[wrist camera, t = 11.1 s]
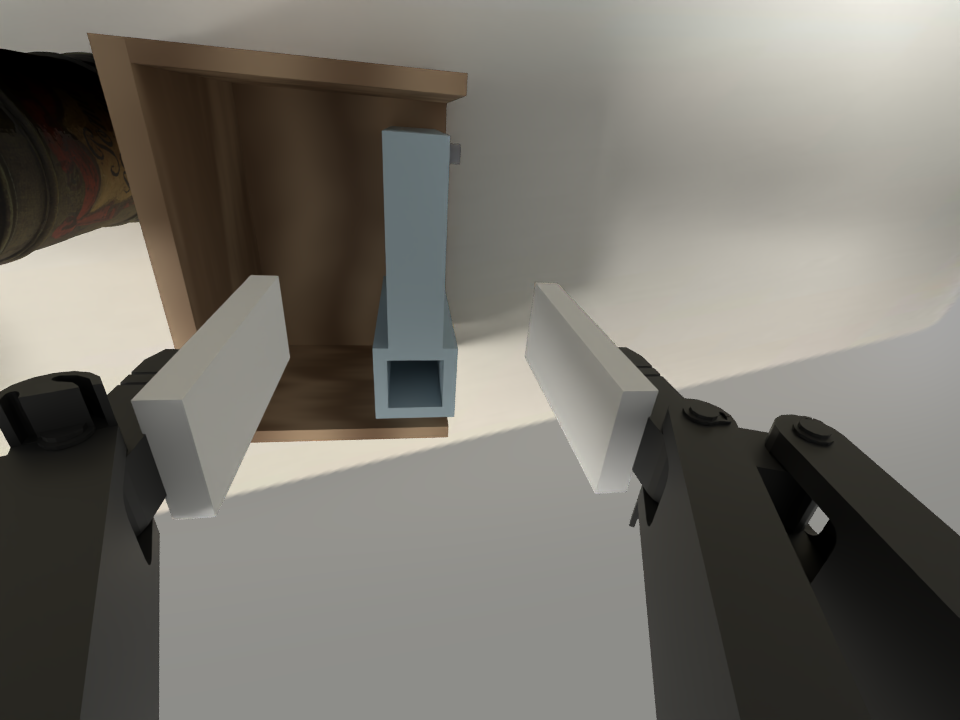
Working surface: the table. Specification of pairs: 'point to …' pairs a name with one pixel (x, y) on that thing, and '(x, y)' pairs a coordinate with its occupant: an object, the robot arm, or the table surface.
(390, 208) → the door
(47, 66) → the container
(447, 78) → the cabinet
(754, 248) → the table surface
